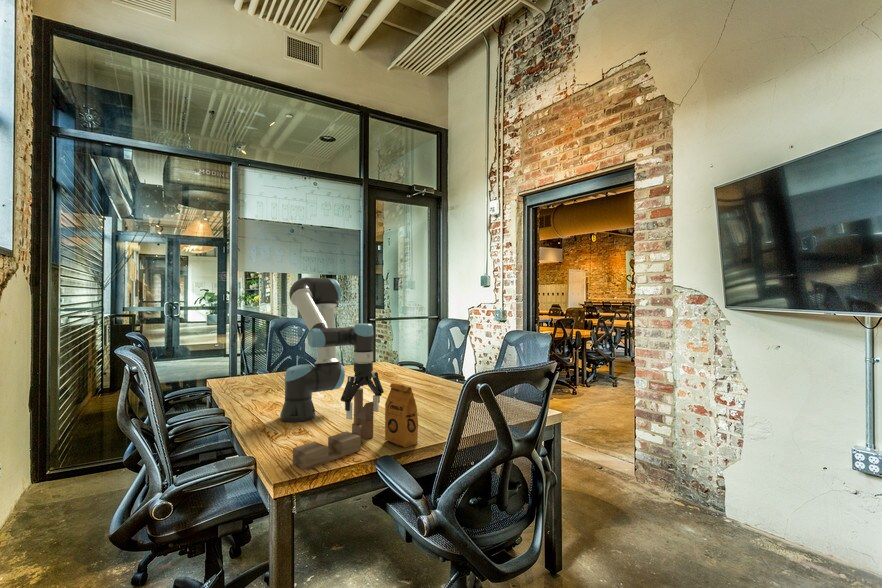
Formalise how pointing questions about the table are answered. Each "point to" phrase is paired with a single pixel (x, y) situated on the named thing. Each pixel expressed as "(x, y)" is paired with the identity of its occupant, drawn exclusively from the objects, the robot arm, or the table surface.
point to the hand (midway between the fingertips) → (362, 415)
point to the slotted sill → (326, 450)
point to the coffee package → (401, 416)
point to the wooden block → (363, 416)
